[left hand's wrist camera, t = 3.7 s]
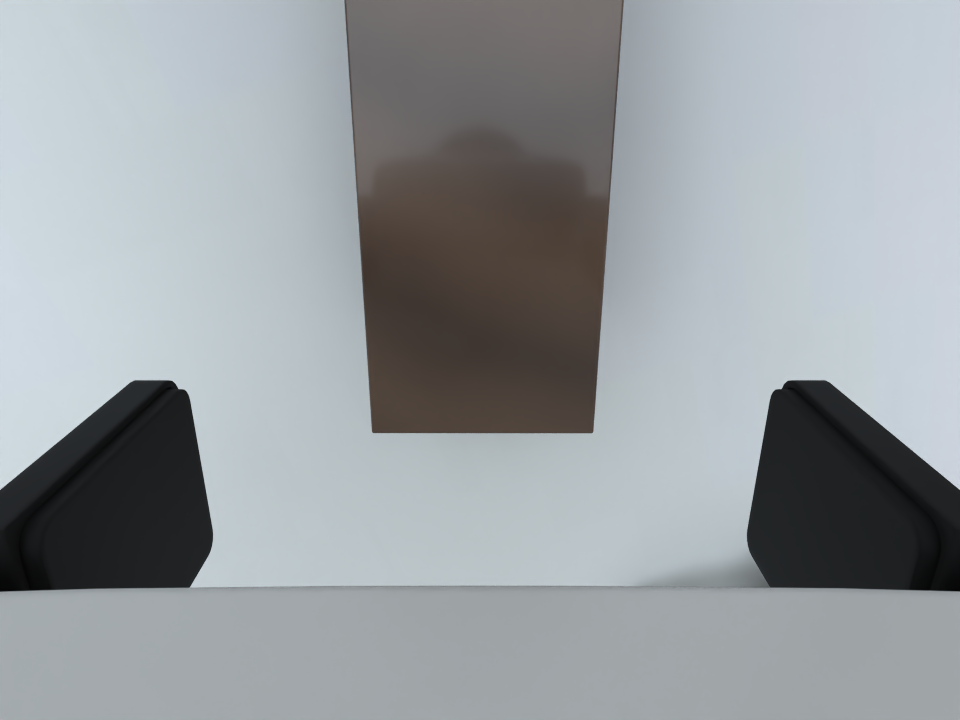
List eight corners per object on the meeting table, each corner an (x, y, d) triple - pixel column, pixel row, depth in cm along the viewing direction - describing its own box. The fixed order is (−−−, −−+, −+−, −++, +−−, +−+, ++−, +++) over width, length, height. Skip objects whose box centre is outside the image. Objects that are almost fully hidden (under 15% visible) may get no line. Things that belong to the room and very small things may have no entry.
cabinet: (386, -222, 22) (313, -469, 13) (579, -222, 22) (657, -468, 13) (407, 321, 29) (371, 433, 20) (555, 321, 29) (593, 434, 20)
